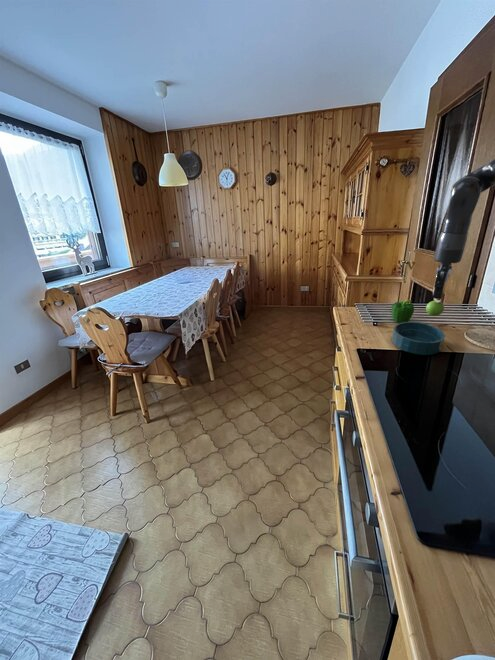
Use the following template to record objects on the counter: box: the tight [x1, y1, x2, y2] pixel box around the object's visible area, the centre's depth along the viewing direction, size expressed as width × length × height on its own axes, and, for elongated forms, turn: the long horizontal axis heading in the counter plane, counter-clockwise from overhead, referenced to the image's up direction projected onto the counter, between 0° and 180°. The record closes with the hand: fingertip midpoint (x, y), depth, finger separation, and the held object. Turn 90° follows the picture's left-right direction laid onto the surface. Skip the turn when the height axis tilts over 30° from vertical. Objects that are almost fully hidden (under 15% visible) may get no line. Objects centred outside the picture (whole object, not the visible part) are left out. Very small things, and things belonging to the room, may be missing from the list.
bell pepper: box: [391, 299, 415, 324], centre depth 121 cm, size 8×8×10 cm
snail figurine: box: [425, 279, 445, 317], centre depth 100 cm, size 5×6×12 cm
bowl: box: [391, 321, 446, 356], centre depth 105 cm, size 16×16×6 cm
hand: (437, 295), depth 99 cm, fingers closed on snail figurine, 5 cm apart
